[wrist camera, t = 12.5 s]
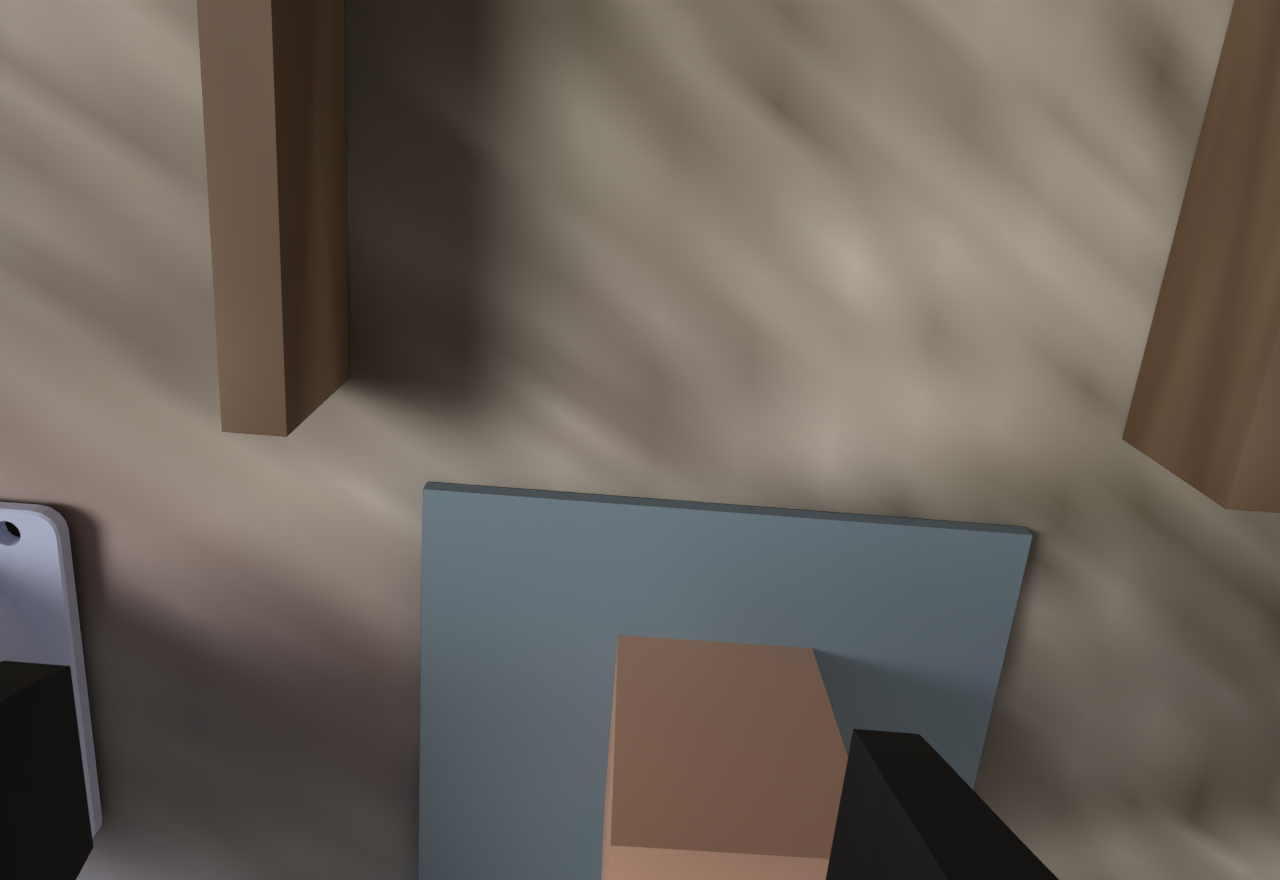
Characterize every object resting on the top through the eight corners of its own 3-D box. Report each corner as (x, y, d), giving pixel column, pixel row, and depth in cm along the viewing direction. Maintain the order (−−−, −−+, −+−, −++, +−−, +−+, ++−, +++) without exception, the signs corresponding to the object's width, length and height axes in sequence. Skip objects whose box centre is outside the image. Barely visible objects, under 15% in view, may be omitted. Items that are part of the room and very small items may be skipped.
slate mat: (421, 884, 22) (417, 898, 22) (426, 481, 19) (422, 489, 19) (935, 917, 23) (940, 930, 22) (1025, 526, 20) (1032, 535, 19)
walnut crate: (296, 374, 18) (222, 431, 15) (271, -396, 15) (165, -544, 11) (1171, 442, 19) (1286, 513, 16) (1371, -283, 15) (1578, -394, 12)
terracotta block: (605, 796, 21) (593, 1048, 15) (618, 634, 20) (611, 844, 14) (787, 807, 21) (842, 1062, 16) (812, 648, 20) (881, 861, 14)
